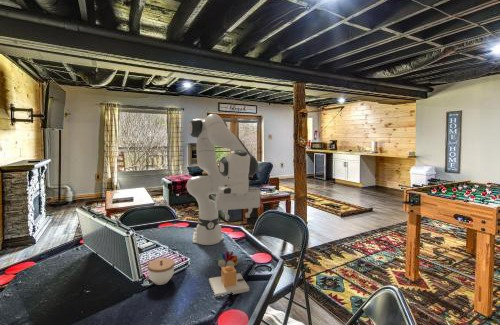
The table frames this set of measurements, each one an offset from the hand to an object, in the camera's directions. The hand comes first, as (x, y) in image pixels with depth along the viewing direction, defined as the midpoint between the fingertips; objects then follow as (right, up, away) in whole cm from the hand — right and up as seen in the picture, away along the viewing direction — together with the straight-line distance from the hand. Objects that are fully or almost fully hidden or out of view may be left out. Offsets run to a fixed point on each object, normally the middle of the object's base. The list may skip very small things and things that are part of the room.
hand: (237, 218), depth 118 cm
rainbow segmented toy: (-5, -25, +11) cm, 28 cm away
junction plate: (-3, -27, -7) cm, 28 cm away
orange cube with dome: (-3, -25, -7) cm, 27 cm away
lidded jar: (-32, -26, -4) cm, 42 cm away
